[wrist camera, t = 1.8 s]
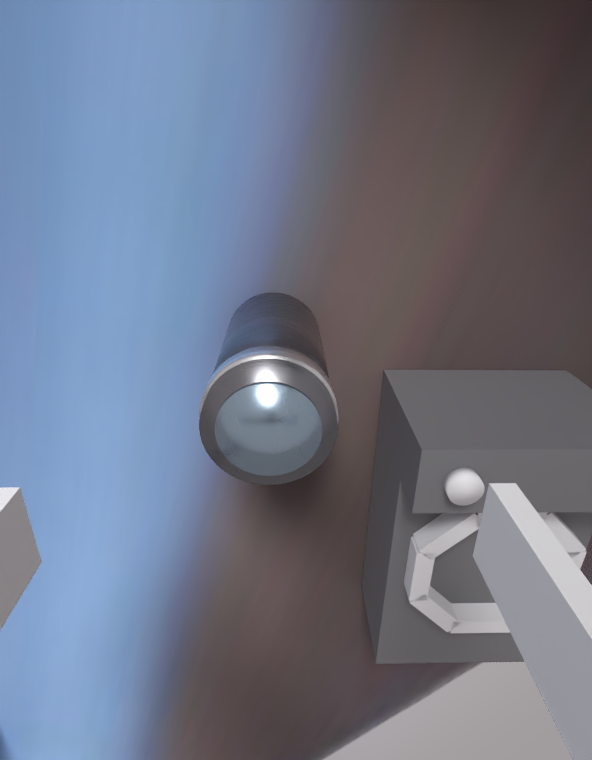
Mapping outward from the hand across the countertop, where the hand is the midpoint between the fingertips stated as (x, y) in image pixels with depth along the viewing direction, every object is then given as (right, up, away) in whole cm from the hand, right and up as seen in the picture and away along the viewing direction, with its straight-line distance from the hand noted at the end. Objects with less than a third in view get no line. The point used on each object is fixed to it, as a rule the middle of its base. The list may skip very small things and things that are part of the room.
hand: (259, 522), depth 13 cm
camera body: (+12, -3, +18) cm, 22 cm away
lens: (0, +7, +13) cm, 15 cm away
